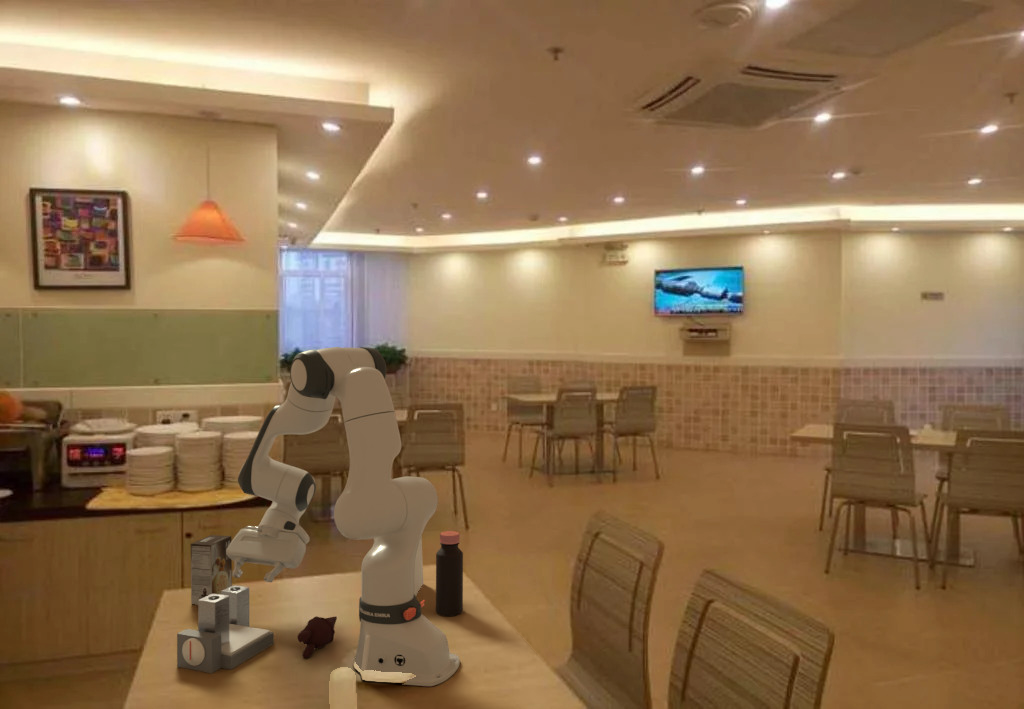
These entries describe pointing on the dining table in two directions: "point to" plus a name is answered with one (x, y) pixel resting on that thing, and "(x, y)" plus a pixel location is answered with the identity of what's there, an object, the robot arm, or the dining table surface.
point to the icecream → (317, 634)
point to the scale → (220, 647)
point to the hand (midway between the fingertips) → (251, 578)
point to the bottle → (449, 575)
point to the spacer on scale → (214, 615)
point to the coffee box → (210, 567)
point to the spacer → (238, 604)
